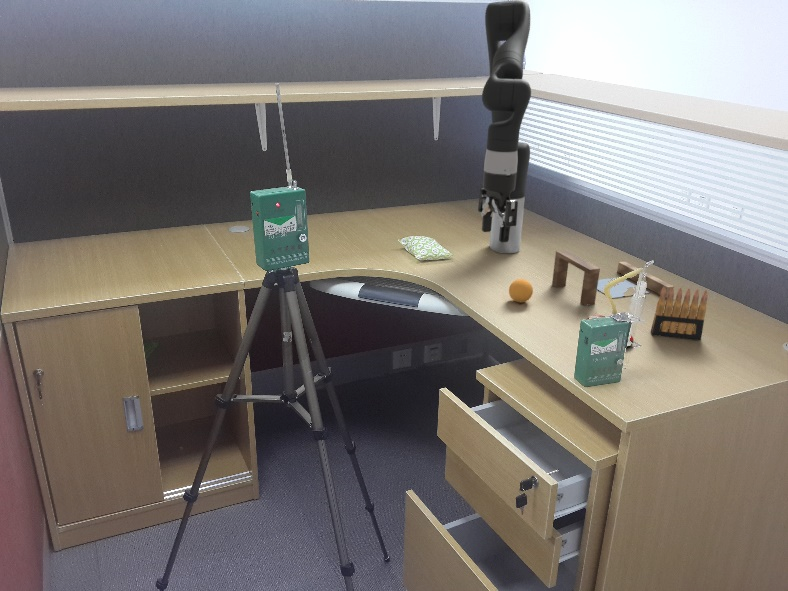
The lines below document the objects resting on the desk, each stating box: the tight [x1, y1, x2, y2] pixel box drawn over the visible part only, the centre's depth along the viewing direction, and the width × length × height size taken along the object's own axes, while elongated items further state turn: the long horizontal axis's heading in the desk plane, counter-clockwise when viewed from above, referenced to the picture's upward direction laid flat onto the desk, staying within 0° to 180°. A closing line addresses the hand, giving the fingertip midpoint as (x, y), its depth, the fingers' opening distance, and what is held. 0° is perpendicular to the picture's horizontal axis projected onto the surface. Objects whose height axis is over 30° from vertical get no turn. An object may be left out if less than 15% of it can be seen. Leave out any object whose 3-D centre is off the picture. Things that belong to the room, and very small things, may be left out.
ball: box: [508, 278, 534, 303], centre depth 168 cm, size 6×6×6 cm
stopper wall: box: [616, 261, 675, 299], centre depth 182 cm, size 20×2×3 cm, turn 21°
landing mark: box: [597, 276, 650, 300], centre depth 179 cm, size 12×12×1 cm
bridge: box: [551, 249, 601, 306], centre depth 173 cm, size 3×15×10 cm, turn 20°
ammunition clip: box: [650, 286, 708, 341], centre depth 150 cm, size 11×2×12 cm, turn 77°
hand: (494, 236), depth 159 cm, fingers open, 8 cm apart
